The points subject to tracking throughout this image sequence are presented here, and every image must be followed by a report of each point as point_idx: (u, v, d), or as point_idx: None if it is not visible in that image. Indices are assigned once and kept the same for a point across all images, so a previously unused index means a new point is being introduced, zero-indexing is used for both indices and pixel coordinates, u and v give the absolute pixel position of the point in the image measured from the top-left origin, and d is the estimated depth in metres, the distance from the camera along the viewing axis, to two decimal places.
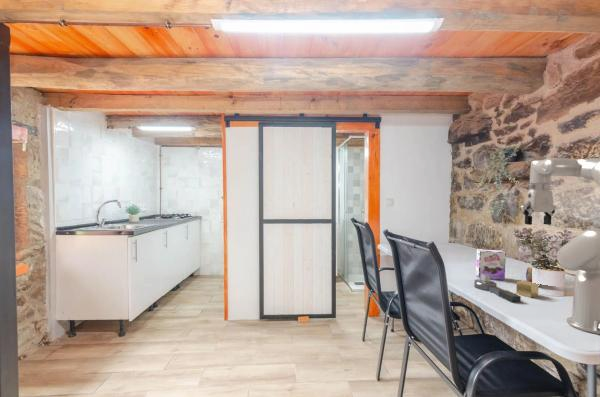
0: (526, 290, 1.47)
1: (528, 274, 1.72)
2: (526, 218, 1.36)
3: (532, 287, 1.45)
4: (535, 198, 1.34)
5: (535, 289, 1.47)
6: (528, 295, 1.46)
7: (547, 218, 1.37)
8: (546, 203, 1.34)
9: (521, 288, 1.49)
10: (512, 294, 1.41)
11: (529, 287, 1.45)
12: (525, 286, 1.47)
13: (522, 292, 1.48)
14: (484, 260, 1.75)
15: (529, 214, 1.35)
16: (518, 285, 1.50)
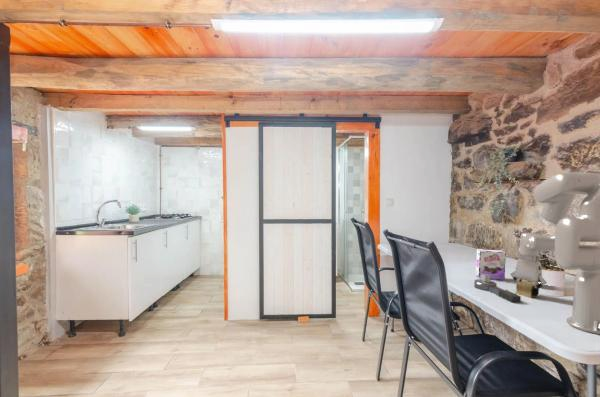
0: (526, 290, 1.47)
1: None
2: (537, 291, 1.45)
3: (532, 287, 1.45)
4: None
5: None
6: (528, 295, 1.46)
7: None
8: None
9: (521, 288, 1.49)
10: (512, 294, 1.41)
11: (529, 287, 1.45)
12: (525, 286, 1.47)
13: (522, 292, 1.48)
14: (484, 260, 1.75)
15: None
16: (518, 285, 1.50)
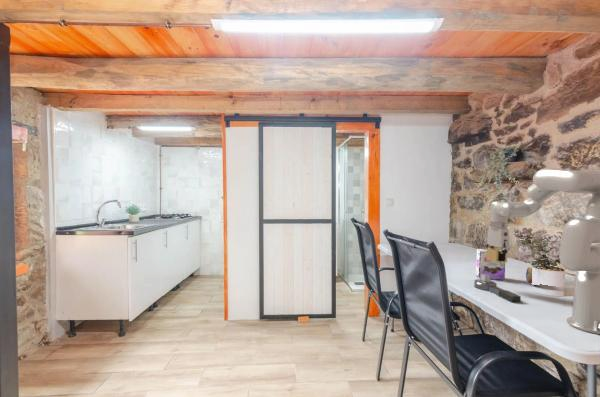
0: (493, 255, 1.54)
1: (528, 274, 1.72)
2: (503, 256, 1.51)
3: (498, 252, 1.52)
4: None
5: None
6: (494, 260, 1.53)
7: None
8: None
9: (489, 253, 1.56)
10: (512, 294, 1.41)
11: (495, 252, 1.53)
12: (492, 251, 1.54)
13: (490, 257, 1.56)
14: (484, 260, 1.75)
15: None
16: (487, 251, 1.58)
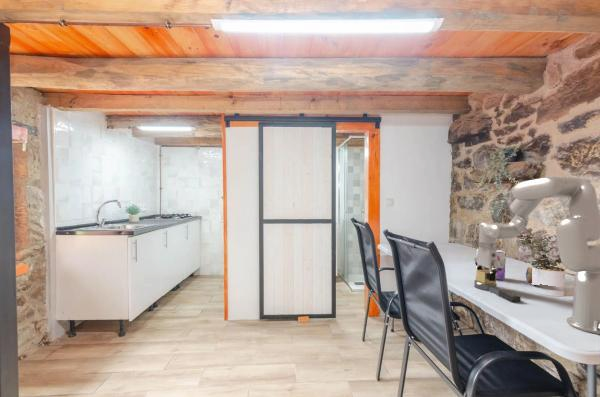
0: (481, 277, 1.57)
1: (528, 274, 1.72)
2: (493, 276, 1.53)
3: (486, 274, 1.55)
4: None
5: None
6: (483, 282, 1.56)
7: None
8: None
9: (479, 275, 1.59)
10: (512, 294, 1.41)
11: (483, 274, 1.55)
12: (481, 273, 1.57)
13: (479, 279, 1.58)
14: None
15: None
16: (477, 272, 1.60)
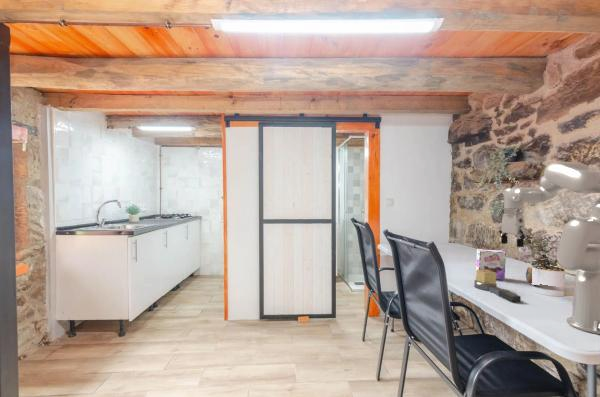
0: (481, 277, 1.57)
1: (528, 274, 1.72)
2: (521, 241, 1.48)
3: (486, 274, 1.55)
4: None
5: (492, 276, 1.55)
6: (483, 282, 1.56)
7: (505, 238, 1.58)
8: None
9: (479, 275, 1.59)
10: (512, 294, 1.41)
11: (483, 274, 1.55)
12: (481, 273, 1.57)
13: (479, 279, 1.58)
14: (484, 260, 1.75)
15: None
16: (477, 272, 1.60)
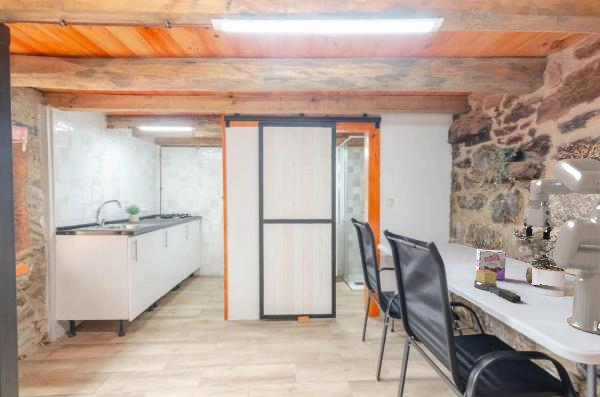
0: (481, 277, 1.57)
1: (528, 274, 1.72)
2: (548, 234, 1.45)
3: (486, 274, 1.55)
4: None
5: (492, 276, 1.55)
6: (483, 282, 1.56)
7: (530, 231, 1.55)
8: None
9: (479, 275, 1.59)
10: (512, 294, 1.41)
11: (483, 274, 1.55)
12: (481, 273, 1.57)
13: (479, 279, 1.58)
14: (485, 260, 1.75)
15: (550, 230, 1.45)
16: (477, 272, 1.60)
